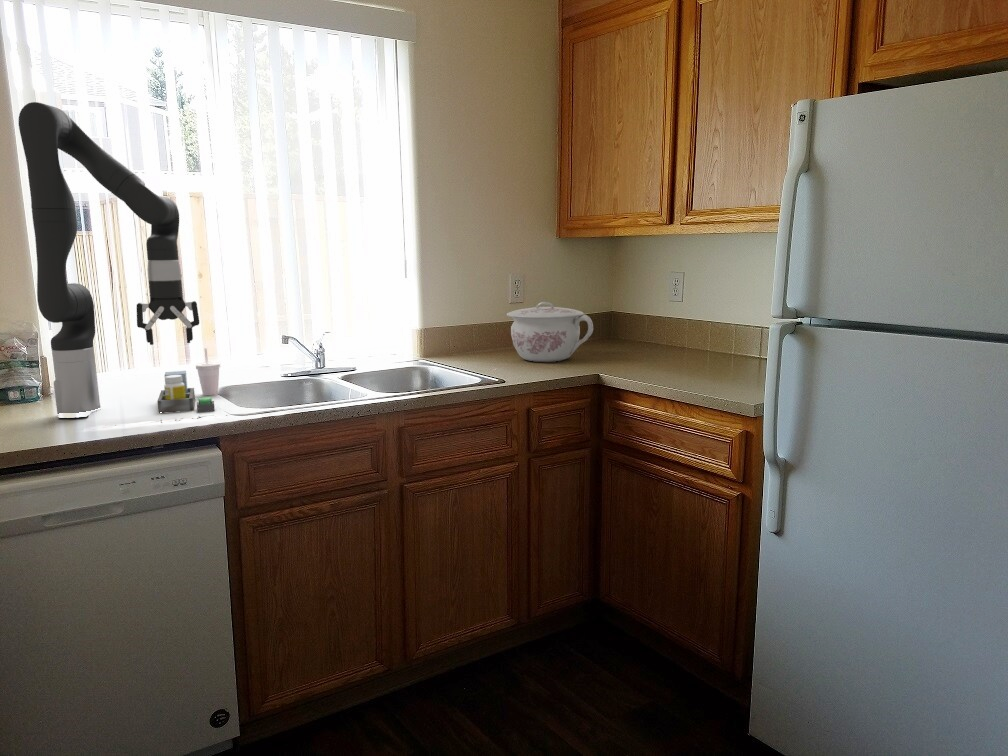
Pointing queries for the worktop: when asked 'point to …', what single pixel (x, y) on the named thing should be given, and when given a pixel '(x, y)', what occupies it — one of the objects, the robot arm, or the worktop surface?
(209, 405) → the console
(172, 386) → the supplement bottle
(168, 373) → the blue block
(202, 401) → the button
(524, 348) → the chamber pot
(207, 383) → the smoothie
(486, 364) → the worktop surface
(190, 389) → the gray open tray
